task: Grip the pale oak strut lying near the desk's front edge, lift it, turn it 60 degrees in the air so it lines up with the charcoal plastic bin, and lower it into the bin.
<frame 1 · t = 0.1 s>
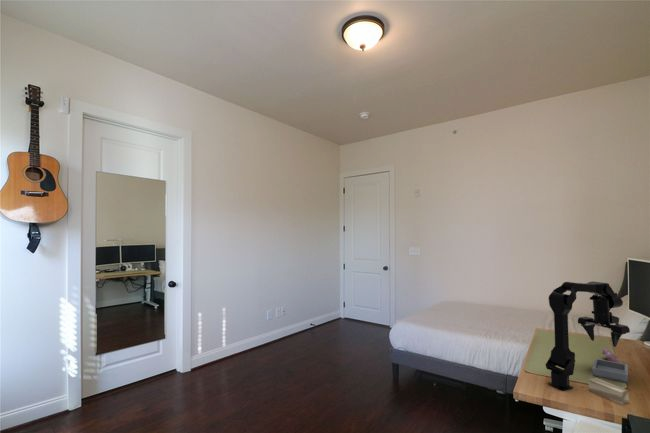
hand: (603, 343, 153), 15 cm above the table, tool pointing down, fingers open, 9 cm apart
bin: (610, 373, 155), on the table
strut: (608, 397, 135), on the table
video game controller: (611, 362, 168), on the table
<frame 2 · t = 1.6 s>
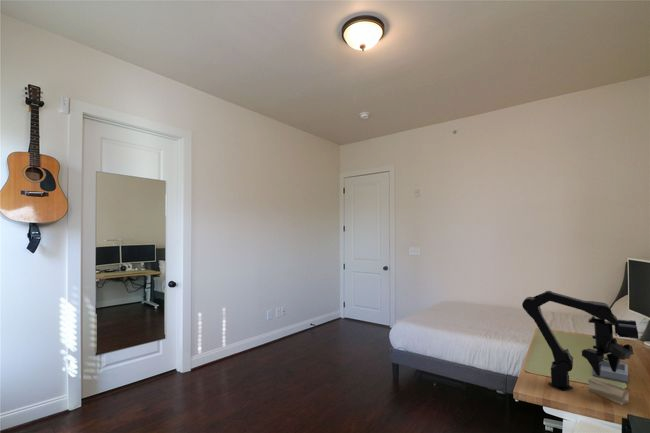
hand: (606, 373, 135), 9 cm above the table, tool pointing down, fingers open, 9 cm apart
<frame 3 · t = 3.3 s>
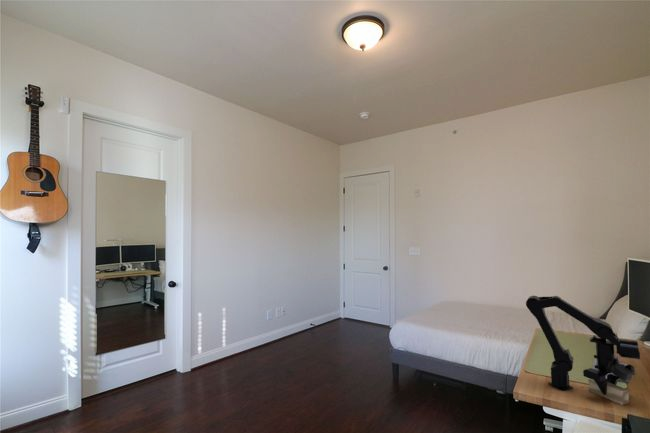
hand: (608, 393, 135), 1 cm above the table, tool pointing down, fingers closed on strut, 4 cm apart
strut: (608, 396, 135), on the table, touching gripper
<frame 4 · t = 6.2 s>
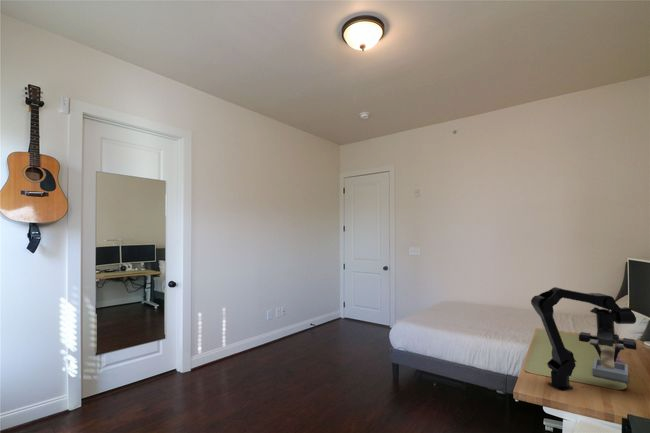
hand: (608, 360, 142), 11 cm above the table, tool pointing down, fingers closed on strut, 4 cm apart
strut: (608, 363, 142), point 10 cm above the table, touching gripper
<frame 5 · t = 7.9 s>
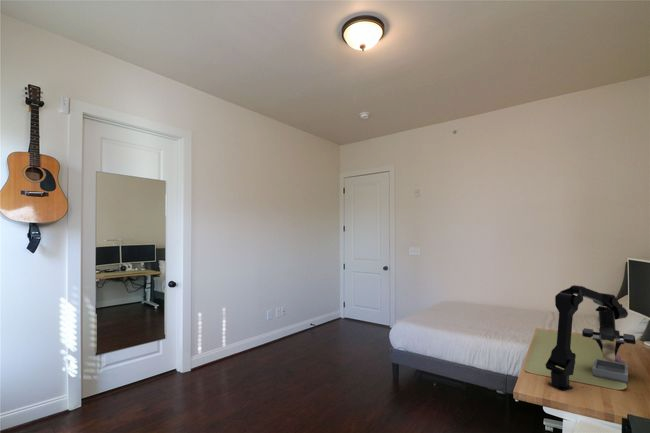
hand: (609, 354, 155), 9 cm above the table, tool pointing down, fingers closed on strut, 4 cm apart
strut: (609, 357, 155), point 8 cm above the table, touching gripper
when the fingers open (4 cm above the table, at t = 9.4 s): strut drops 2 cm, resting on bin.
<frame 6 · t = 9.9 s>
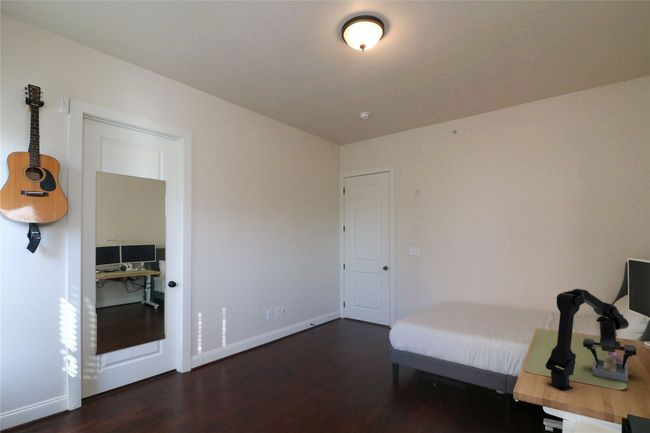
hand: (610, 365, 155), 4 cm above the table, tool pointing down, fingers open, 9 cm apart
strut: (610, 372, 155), point 1 cm above the table, touching bin
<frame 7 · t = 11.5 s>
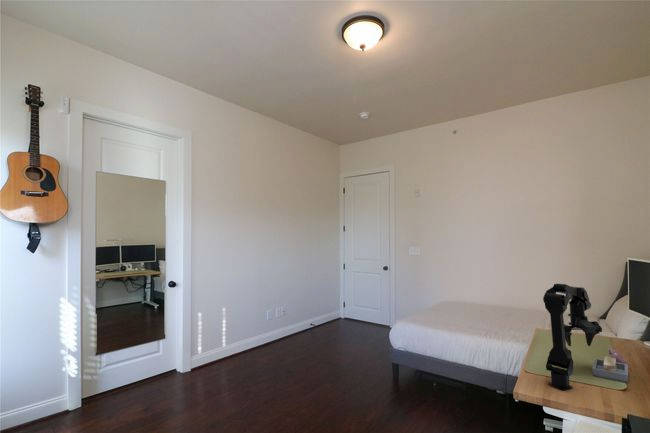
hand: (579, 346, 160), 12 cm above the table, tool pointing down, fingers open, 9 cm apart
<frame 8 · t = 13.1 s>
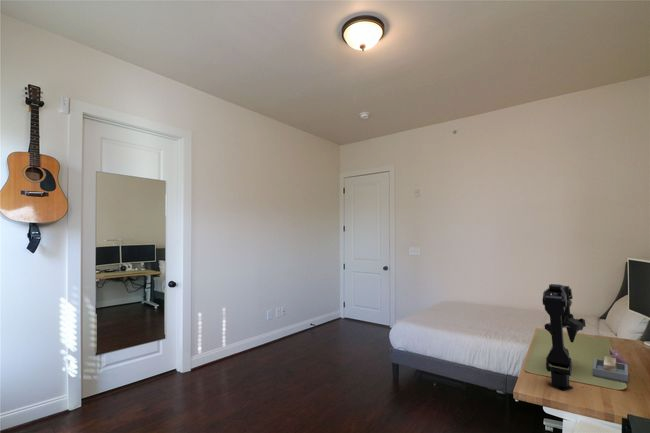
hand: (565, 343, 162), 12 cm above the table, tool pointing down, fingers open, 9 cm apart
at the end: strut inside the target area on the bin (0.1 cm from its centre), point 0.8 cm above the bin's base; the gripper is holding nothing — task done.
